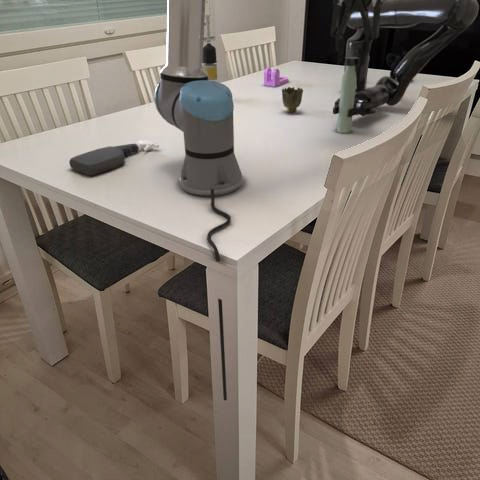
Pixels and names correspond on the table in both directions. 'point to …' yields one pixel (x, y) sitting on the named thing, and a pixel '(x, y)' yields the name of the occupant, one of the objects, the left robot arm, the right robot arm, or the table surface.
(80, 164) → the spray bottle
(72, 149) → the table surface
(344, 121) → the bottle
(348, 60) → the cap
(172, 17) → the left robot arm
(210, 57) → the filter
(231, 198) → the table surface
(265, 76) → the bracket
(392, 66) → the squiggle
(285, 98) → the cup
